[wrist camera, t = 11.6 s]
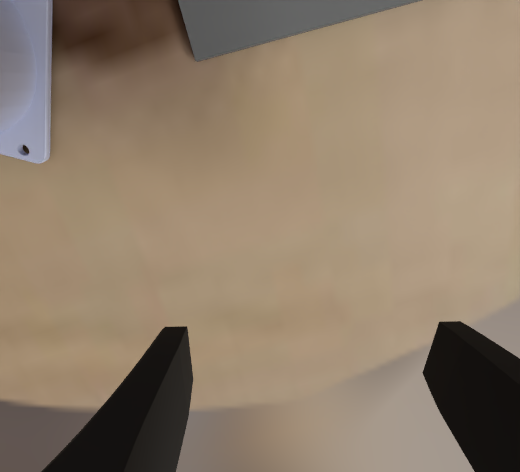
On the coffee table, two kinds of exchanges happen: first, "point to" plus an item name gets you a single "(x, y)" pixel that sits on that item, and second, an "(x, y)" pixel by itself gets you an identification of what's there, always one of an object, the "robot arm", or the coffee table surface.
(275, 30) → the mat
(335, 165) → the coffee table surface
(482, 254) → the coffee table surface
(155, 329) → the coffee table surface
